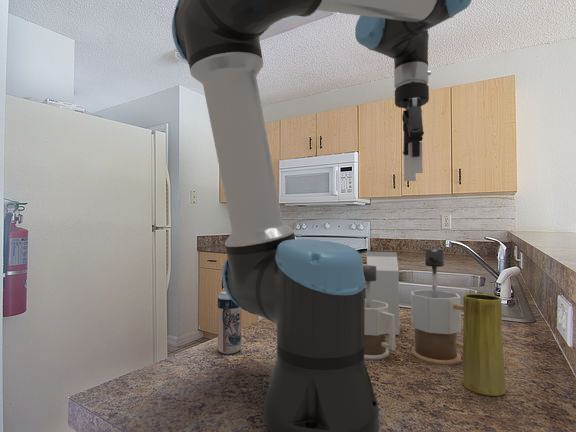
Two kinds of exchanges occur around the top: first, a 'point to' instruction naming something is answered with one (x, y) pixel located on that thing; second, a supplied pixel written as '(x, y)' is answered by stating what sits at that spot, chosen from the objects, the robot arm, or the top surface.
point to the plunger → (434, 265)
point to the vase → (483, 345)
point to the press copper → (436, 326)
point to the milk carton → (386, 282)
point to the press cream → (376, 322)
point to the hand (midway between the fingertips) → (412, 177)
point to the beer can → (228, 325)
